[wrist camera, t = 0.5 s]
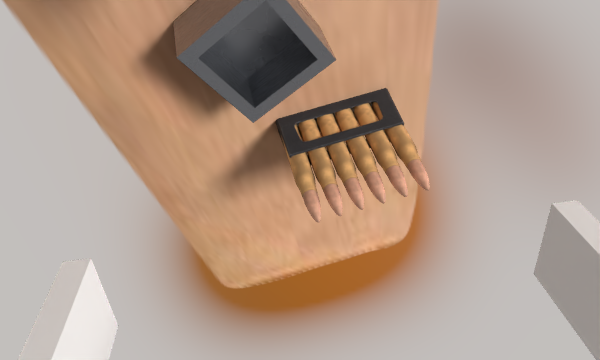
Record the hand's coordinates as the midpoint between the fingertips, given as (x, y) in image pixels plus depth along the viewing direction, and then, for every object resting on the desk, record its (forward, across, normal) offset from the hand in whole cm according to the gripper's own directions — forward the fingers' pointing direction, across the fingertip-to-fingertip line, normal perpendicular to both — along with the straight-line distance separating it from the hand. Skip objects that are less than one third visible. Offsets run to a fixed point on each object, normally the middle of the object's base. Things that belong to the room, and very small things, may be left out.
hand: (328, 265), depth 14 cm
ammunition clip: (+31, +5, -10) cm, 33 cm away
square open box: (+28, -2, 0) cm, 28 cm away
